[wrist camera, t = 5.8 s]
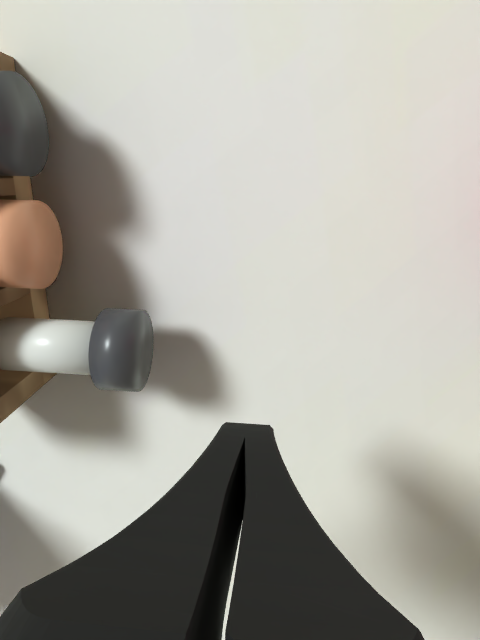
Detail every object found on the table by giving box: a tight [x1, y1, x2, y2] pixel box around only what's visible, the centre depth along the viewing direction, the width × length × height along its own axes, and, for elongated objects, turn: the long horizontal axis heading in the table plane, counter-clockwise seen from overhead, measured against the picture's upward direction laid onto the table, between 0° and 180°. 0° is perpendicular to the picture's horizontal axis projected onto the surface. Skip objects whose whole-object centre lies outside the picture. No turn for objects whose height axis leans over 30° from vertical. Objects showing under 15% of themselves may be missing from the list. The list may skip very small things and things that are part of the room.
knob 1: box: [0, 308, 153, 392], centre depth 18 cm, size 4×6×4 cm, turn 89°
